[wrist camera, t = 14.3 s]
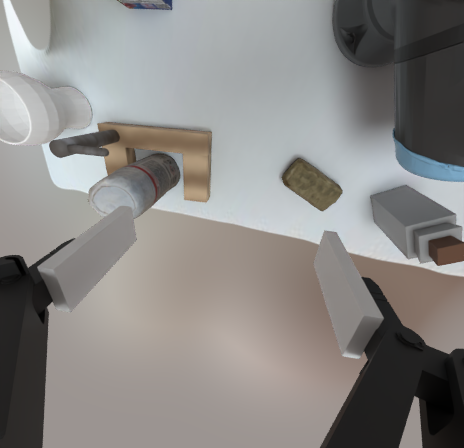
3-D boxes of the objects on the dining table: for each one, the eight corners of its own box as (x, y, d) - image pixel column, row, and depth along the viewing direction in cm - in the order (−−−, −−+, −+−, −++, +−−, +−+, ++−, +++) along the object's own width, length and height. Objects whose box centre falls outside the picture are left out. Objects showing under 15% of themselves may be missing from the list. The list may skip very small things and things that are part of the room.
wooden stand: (108, 122, 47) (33, 132, 32) (211, 132, 45) (185, 147, 30) (119, 185, 54) (62, 219, 38) (209, 196, 52) (187, 236, 37)
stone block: (297, 154, 45) (300, 160, 41) (340, 184, 47) (348, 193, 43) (279, 177, 48) (281, 185, 44) (320, 205, 50) (326, 215, 46)
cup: (67, 140, 50) (-3, 154, 37) (38, 85, 45) (-54, 79, 32) (107, 129, 48) (49, 140, 35) (82, 71, 43) (2, 58, 30)
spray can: (143, 148, 49) (76, 175, 31) (180, 153, 48) (133, 182, 31) (146, 185, 53) (89, 227, 35) (181, 190, 52) (139, 234, 35)
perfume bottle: (374, 222, 50) (424, 277, 35) (370, 195, 47) (422, 242, 32) (408, 213, 48) (478, 267, 33) (406, 185, 46) (481, 229, 30)
